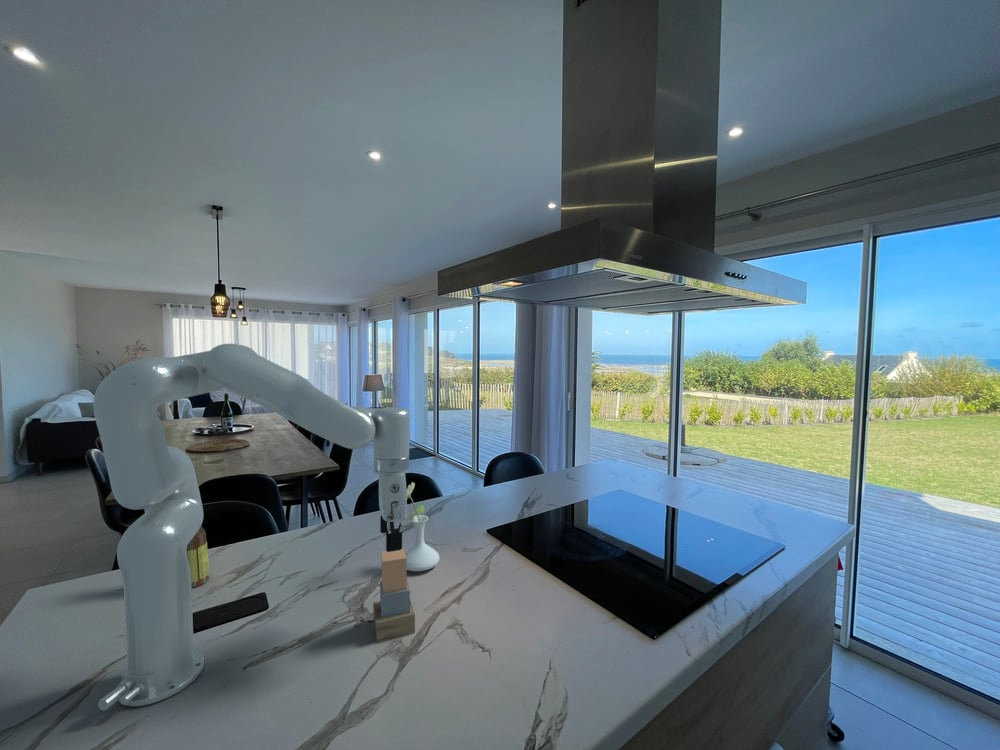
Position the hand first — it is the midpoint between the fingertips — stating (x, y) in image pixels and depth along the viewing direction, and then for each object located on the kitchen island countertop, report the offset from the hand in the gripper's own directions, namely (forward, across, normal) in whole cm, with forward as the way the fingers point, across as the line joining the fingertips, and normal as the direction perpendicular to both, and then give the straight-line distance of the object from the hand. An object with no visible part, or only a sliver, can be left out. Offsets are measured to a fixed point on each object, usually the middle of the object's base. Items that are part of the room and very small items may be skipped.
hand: (390, 540), depth 91 cm
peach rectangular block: (+10, 0, -1) cm, 10 cm away
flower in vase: (+20, +24, -11) cm, 33 cm away
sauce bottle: (+21, +38, +45) cm, 63 cm away
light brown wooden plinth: (+20, 0, -1) cm, 20 cm away
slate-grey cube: (+15, 0, -1) cm, 15 cm away
